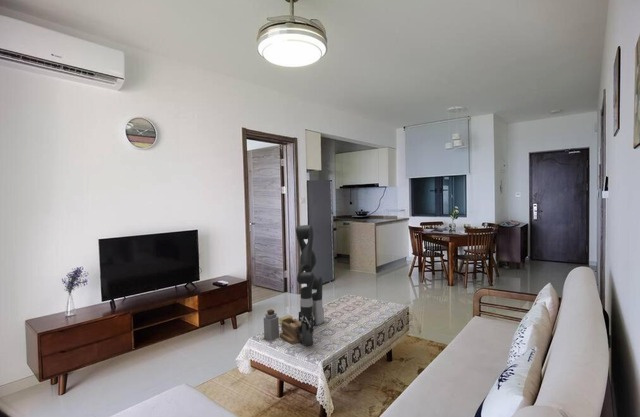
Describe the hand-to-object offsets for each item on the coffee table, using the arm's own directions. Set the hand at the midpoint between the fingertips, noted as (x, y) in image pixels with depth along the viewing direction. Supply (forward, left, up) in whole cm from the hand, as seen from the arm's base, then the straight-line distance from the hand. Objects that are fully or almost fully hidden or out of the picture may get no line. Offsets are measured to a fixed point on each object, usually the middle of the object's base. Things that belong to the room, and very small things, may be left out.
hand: (307, 330), depth 215 cm
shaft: (0, -12, -8) cm, 15 cm away
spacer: (0, -24, -2) cm, 24 cm away
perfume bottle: (+11, -24, -9) cm, 28 cm away
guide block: (0, -14, -9) cm, 17 cm away
